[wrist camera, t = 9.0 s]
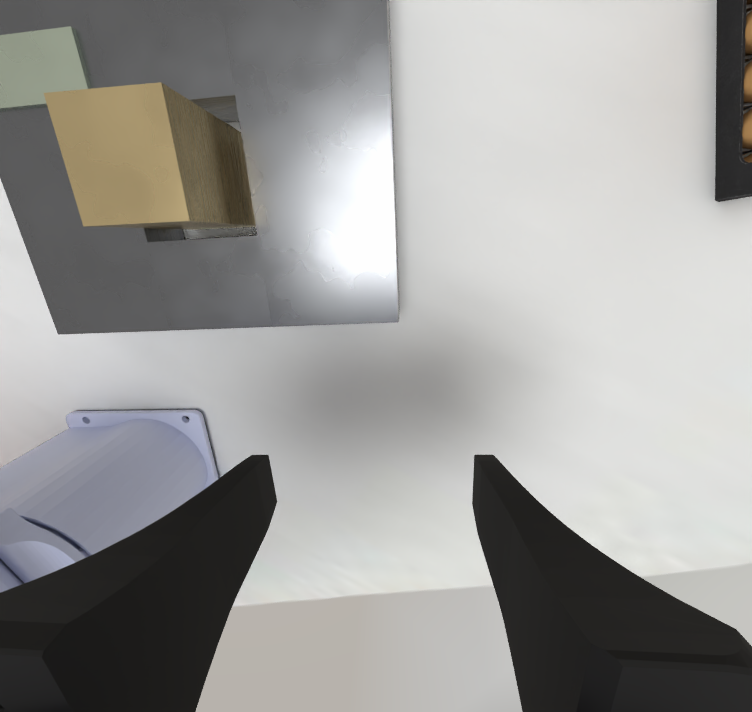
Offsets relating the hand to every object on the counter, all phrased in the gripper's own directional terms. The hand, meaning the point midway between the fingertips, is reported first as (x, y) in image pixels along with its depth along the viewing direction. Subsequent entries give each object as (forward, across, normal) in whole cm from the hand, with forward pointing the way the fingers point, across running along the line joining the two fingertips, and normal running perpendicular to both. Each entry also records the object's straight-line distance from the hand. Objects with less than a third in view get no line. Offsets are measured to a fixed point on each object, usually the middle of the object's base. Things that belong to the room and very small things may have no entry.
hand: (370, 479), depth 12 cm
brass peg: (+10, +8, -11) cm, 16 cm away
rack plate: (+9, +8, -11) cm, 17 cm away
